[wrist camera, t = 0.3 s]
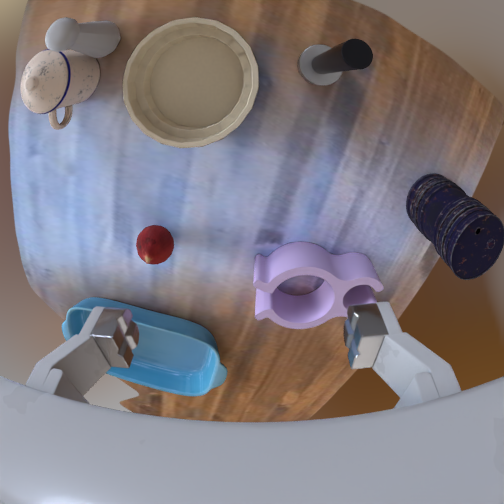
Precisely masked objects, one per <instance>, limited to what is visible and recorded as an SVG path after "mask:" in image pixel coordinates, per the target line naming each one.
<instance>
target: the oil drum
mask: <svg viewBox="0 0 504 504" xmlns="http://www.w3.org/2000/svg"><path fill="white" fill-rule="evenodd" d="M406 209H407V213H408V216H409V218H410V219H411V221H412V222H413V223H414V224H415V226H416V227H417V229H418V230H419V231H420V232H421V233H422V234H423V235H424V236H425V237H426V238H427V239H428V240H429V241H431V242H432V243H433V244H434V246H435V249H436V251H437V253H438V254H439V255H440V256H441V258H442V259H443V260H444V262H445V263H446V264H447V265H448V266H449V267H450V268H451V270H452V271H453V272H454V274H455V275H456V276H457V277H459V278H460V279H464V280H470V279H474V278H477V277H479V276H481V275H482V274H484V273H485V272H486V271H488V270H489V269H490V268H491V267H492V266H493V264H494V263H495V262H496V260H497V259H498V257H499V255H500V253H501V251H502V248H503V245H504V226H503V223H502V221H501V220H500V219H499V218H498V217H497V216H496V215H494V214H493V213H492V212H491V211H490V210H489V209H488V208H487V207H486V206H484V205H483V204H482V203H481V202H479V201H478V200H476V199H474V198H472V197H469V196H468V195H466V193H465V192H464V191H463V190H462V189H461V188H460V187H459V186H457V185H456V184H455V183H453V182H452V181H450V180H448V179H447V178H445V177H444V176H442V175H439V174H427V175H425V176H423V177H421V178H420V179H418V180H417V181H416V182H415V183H414V184H413V186H412V187H411V189H410V191H409V193H408V196H407V201H406Z"/></svg>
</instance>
